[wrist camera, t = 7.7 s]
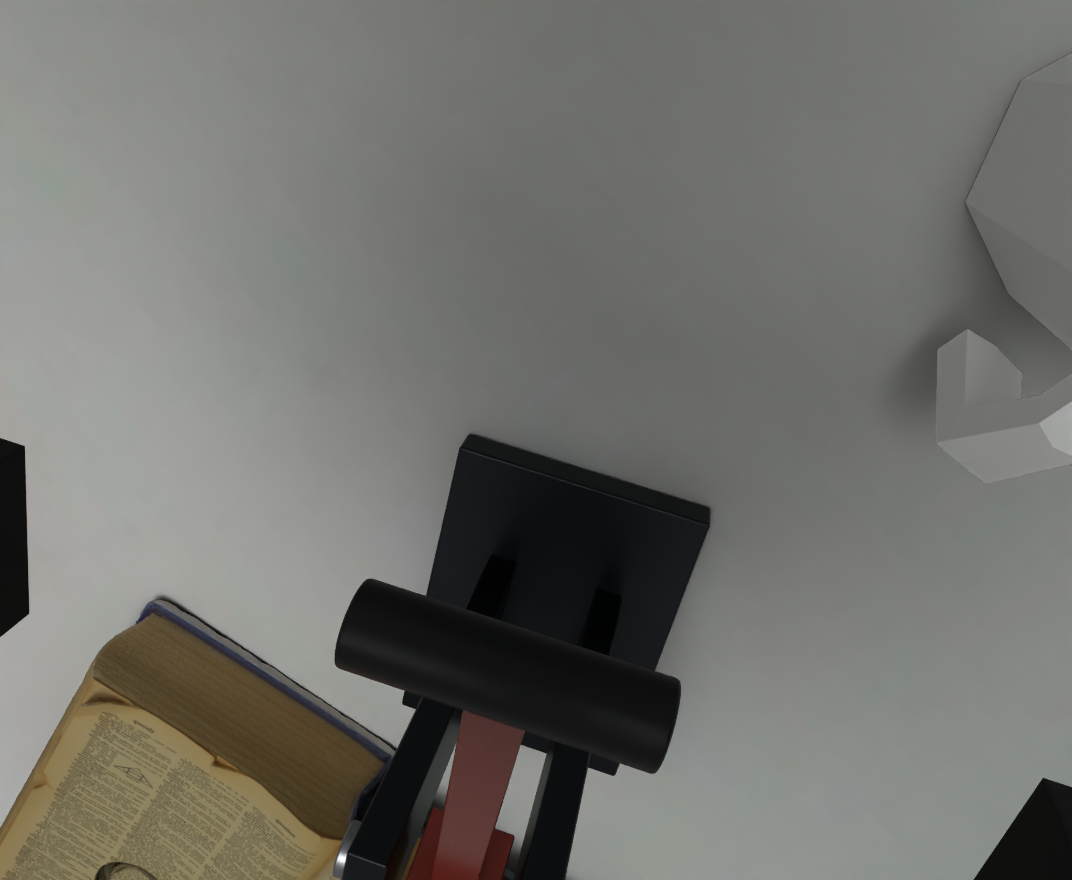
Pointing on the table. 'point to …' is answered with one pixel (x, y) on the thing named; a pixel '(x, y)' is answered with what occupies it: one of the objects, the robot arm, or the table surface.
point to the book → (191, 769)
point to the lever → (499, 709)
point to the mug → (1017, 290)
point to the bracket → (534, 626)
